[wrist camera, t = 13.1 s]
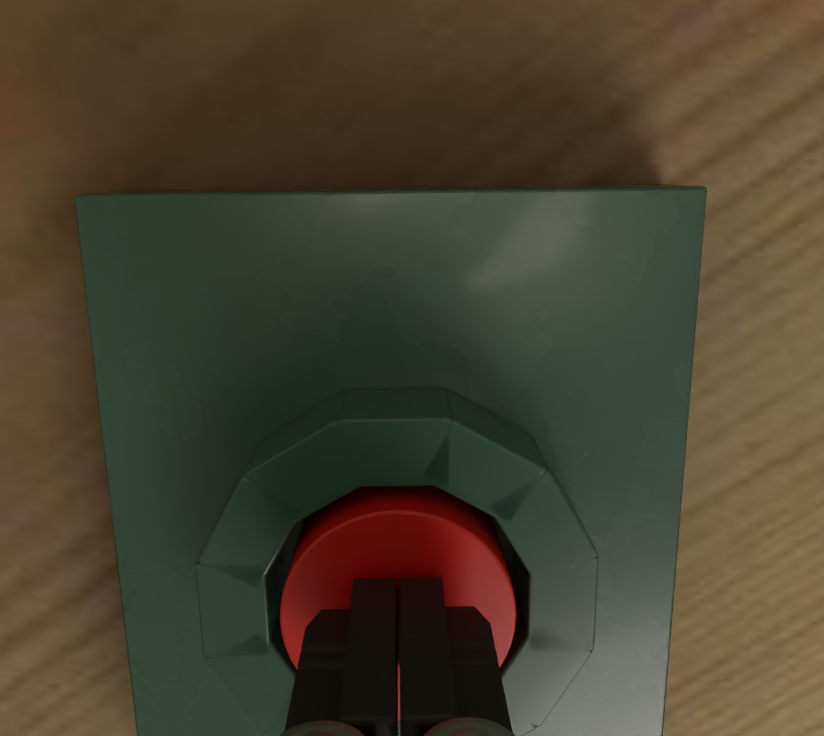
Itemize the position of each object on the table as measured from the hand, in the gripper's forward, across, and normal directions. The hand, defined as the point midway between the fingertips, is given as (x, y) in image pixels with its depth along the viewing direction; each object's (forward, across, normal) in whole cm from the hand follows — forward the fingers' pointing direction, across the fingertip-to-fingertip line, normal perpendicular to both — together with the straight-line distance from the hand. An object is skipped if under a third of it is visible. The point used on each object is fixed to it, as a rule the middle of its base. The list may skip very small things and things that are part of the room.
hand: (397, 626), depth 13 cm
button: (+2, 0, 0) cm, 2 cm away
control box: (+4, 0, 0) cm, 4 cm away
